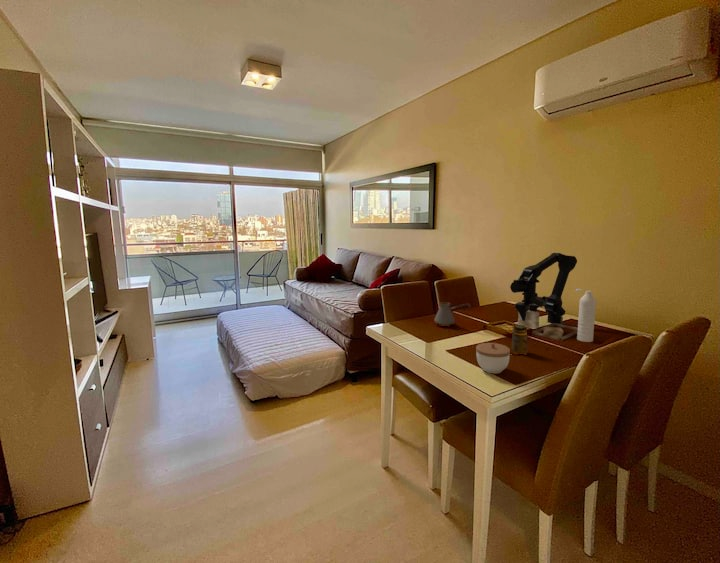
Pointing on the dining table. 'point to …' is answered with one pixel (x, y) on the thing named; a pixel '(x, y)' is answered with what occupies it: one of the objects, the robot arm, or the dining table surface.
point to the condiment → (519, 339)
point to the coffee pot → (446, 313)
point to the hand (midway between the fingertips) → (528, 319)
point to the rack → (554, 336)
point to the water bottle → (586, 317)
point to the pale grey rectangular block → (530, 319)
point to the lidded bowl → (492, 357)
